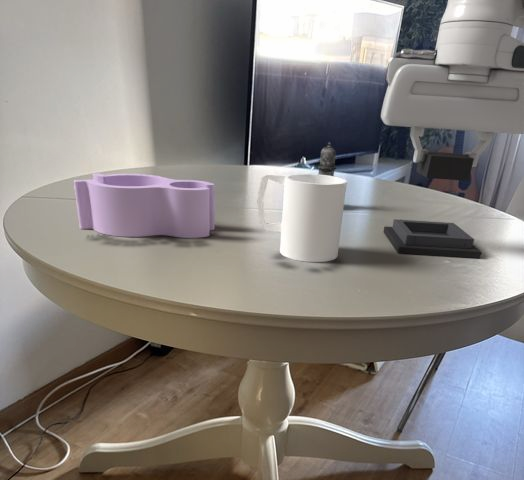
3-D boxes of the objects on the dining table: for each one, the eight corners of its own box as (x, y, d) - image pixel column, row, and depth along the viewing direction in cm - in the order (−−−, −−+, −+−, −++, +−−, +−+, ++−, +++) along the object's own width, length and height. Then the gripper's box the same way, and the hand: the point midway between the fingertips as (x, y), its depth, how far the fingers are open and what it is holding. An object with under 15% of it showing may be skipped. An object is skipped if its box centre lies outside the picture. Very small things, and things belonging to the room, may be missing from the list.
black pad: (455, 174, 73) (460, 153, 71) (468, 181, 68) (474, 158, 66) (416, 171, 73) (420, 150, 71) (426, 178, 68) (431, 155, 66)
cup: (263, 238, 73) (266, 169, 68) (341, 248, 70) (350, 177, 66) (246, 253, 66) (249, 177, 61) (332, 265, 64) (342, 186, 59)
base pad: (454, 236, 80) (458, 221, 79) (480, 258, 70) (484, 241, 69) (383, 232, 80) (385, 217, 79) (397, 253, 70) (401, 236, 69)
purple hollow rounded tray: (219, 223, 80) (220, 180, 77) (202, 243, 69) (202, 194, 66) (105, 213, 82) (100, 171, 79) (70, 232, 71) (64, 183, 68)
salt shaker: (315, 201, 100) (321, 139, 94) (341, 206, 97) (349, 142, 92) (303, 206, 95) (308, 141, 90) (330, 211, 93) (337, 144, 87)
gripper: (395, 45, 60) (376, 162, 67) (558, 56, 60) (523, 172, 67) (386, 49, 66) (369, 156, 72) (535, 59, 65) (505, 166, 72)
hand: (444, 164), depth 69 cm, fingers closed on black pad, 6 cm apart
